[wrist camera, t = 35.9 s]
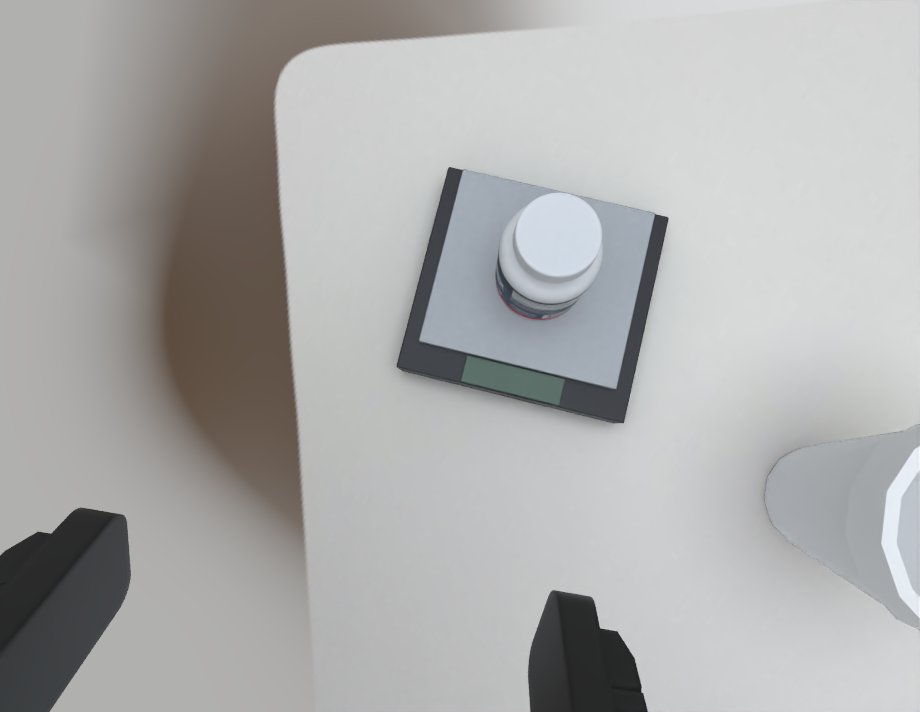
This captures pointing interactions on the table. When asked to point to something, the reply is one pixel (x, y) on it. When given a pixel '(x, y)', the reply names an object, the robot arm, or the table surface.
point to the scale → (519, 339)
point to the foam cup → (857, 513)
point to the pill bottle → (548, 256)
